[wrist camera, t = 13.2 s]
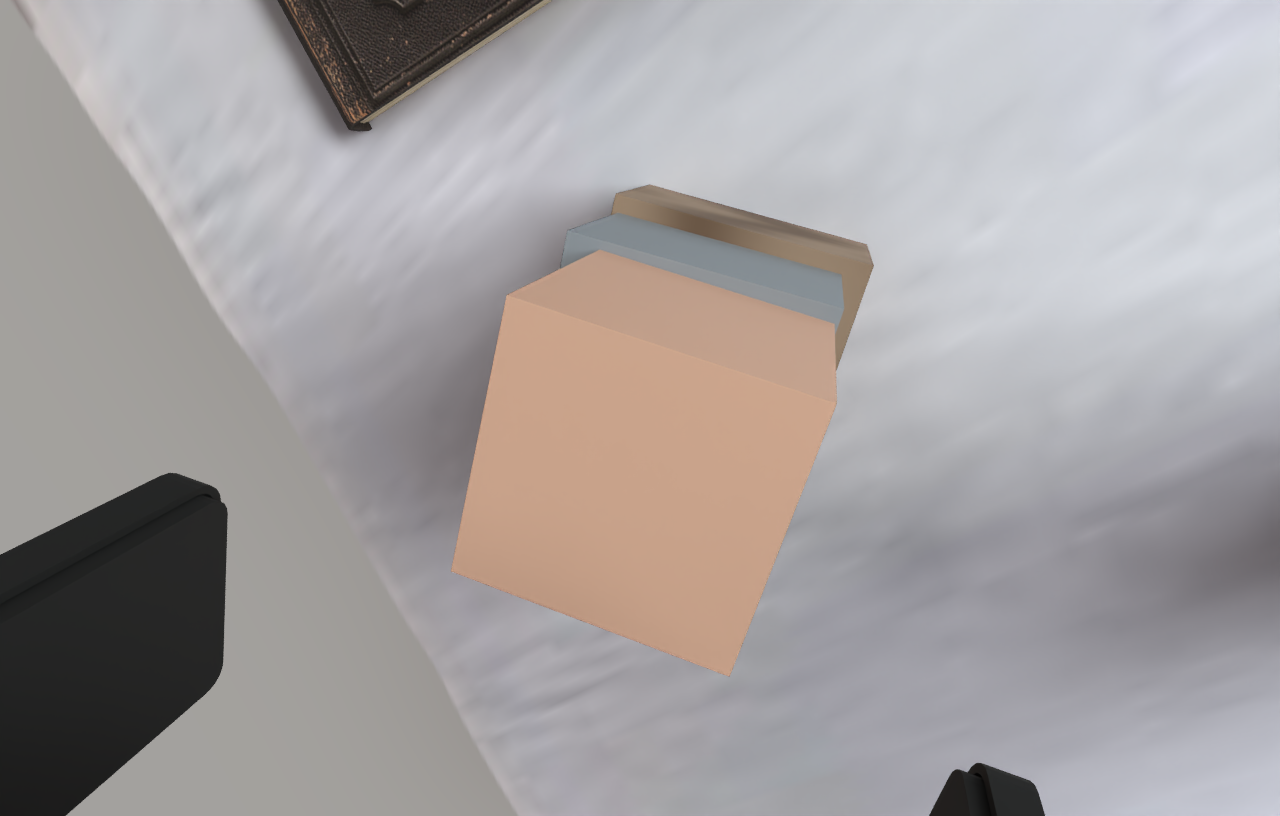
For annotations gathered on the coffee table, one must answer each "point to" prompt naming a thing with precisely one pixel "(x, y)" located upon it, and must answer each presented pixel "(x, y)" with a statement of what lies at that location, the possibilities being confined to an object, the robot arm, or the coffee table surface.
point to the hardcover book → (393, 44)
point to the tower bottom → (758, 240)
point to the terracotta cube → (644, 452)
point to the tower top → (712, 264)
